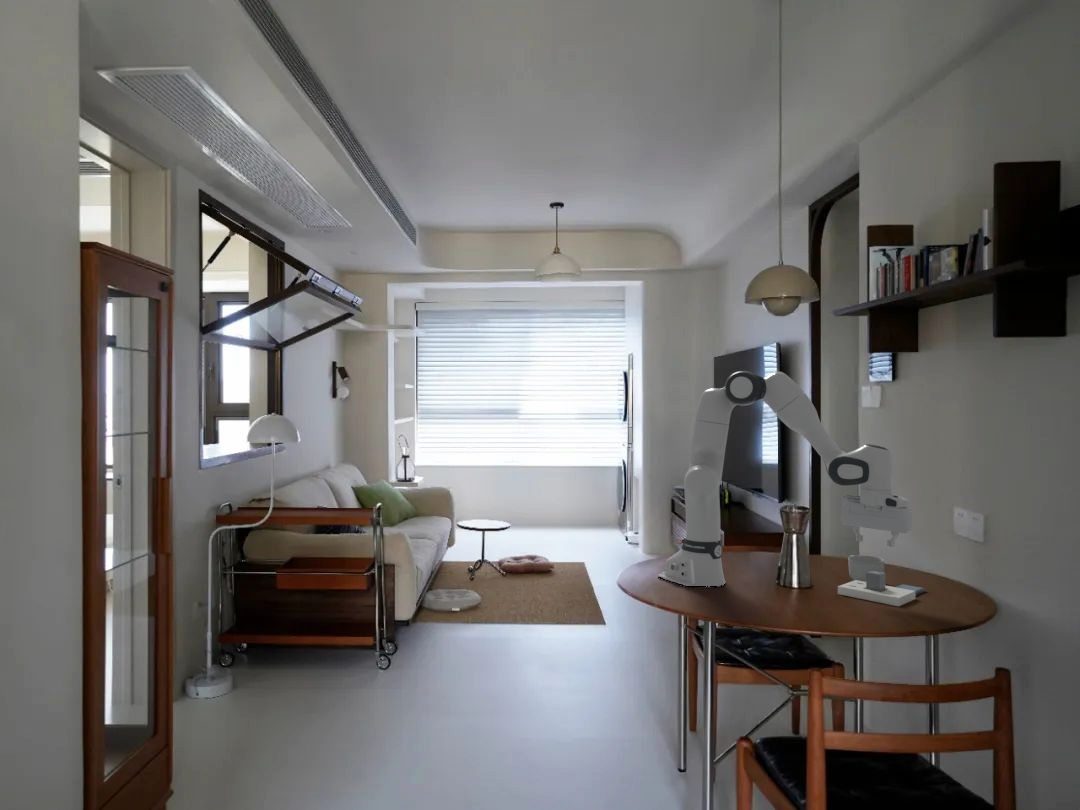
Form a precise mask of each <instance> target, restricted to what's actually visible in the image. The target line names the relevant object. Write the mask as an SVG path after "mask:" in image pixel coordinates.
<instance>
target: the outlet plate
mask: <svg viewBox="0 0 1080 810" xmlns="http://www.w3.org/2000/svg"><path fill="white" fill-rule="evenodd" d="M885 588H886V590H885V591H883V592H879V591H874V590H869V589H866V582H864V581H858V580H851V581H848V582H847V583H843V584H841V585H837V595H840V596H846V597H851V598H856V599H861V600H865V601H870V602H875V603H881V604H885V605H890V606H895V607H900V606H903V605H905V604H907V603H909V602H912V601H914V600H916V596H915V591H913V590H907V589H902V588H896V586H890V585H886V584H885Z"/></svg>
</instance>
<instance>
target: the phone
mask: <svg viewBox="0 0 1080 810" xmlns="http://www.w3.org/2000/svg"><path fill="white" fill-rule="evenodd" d="M895 587H896V588H902V589H907V590H913V591H915V597H916V596H918V595H920V594H923V593H925V592H926V588H925V587H921V586H916V585H909V584H904V583H903V584H902V583H901V584H899V585H896V586H895Z"/></svg>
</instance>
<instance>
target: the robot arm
mask: <svg viewBox="0 0 1080 810" xmlns="http://www.w3.org/2000/svg"><path fill="white" fill-rule="evenodd" d="M757 401H761V402H764V403H765V404H766V405H767V406H768V407H769V408H770V409H771V410H772V411H773V413H774V414H775V416H776V417H777V418H778V419H779V420H780V421H781V422H782V423H783V424H784V425H785V426H786V427H787V428H789V429H790V430H791V431H793V432H795V433H797V434H798V435H800V436H802V437H803V438H804V439H806V441H807V442H808V444H810V445H811V447H813V449H814V450H815V451H816V452H817V454H818V455H819V456H820V458H821V459H822V461H823V463H824V466H825V470H826V473H827V475H828V476H829V478H830V480H831V481H832V482H833V483H835V484H836V485H837V486H841V487H849V486H850V487H851V486H854V485H855V486H857V485H859V495H851V494H850V495H845V496H844V497H843V498H842V499H841V506H842V507H841V513H840V522H841V524H842V525H843V526H851V529H852V531H853V534H854V536H855V541H856V542H863V541H864V539H863V538H864V535H861V533H860V531H859V530H860V529H861V528H864V529H870V530H871V529H872V530H878V531H885V532H886V531H887V532H890V535H891V536H892V537H891V538H890V539H887V540H886V545H887V547H895V545H896V544H895V543H896V540H897V539H898V537H899V536H900V534H908V533H911V531H912V530H913V519H912V518H913V517H912V516H913V515H912V512H911V510H910V508H908V507H909V505H910V501H909V499H908V498H906V497H903V496H901V495H898V494H896V493H894V492H893V486H892V483H891V481H892V477H893V459H892V454H891V452H890V450H889V449H887V447H884V446H881V445H875V444H870V443H868V444H867V443H866V444H865V443H864V444H862V446H861V447H858V448H855V449H854V450H852V451H849V452H848V451H845V450H844V449H842V448H841V447H840V446H839V445H838V444H837V443H836V442H835V440H834V439H833V438H832V437H831V436H830V435H829V433H828V432H827V431H826V430H825V428H824V426H823V425H822V423H821V420H820V417H819V415H818V411H817V409H816V407H815V406H814V404H813V401H812V400H811V399H810V398H809V396H808V394H807V393H805V391H804V390H803V388H801V387H800V386H799V385H798V384H797V382H795V381H794V380H793V379H792V378H791V377H789V375H787V374H786V373H784V372H783V371H774V372H771V373H770V374H768V375H766V376H765V377H764V376H759V375H758V374H755V373H753V372H750V371H747V370H738V371H735V372H733V373H732V374H730V375H729V376H728V377H727V378H726V381H725V383H724V386H723V387H722V388H716V387H713V388H712V387H710V388H708V389H705V390H704V391H703V392H702V394H701V396H700V398H699V401H698V404H697V408H696V412H695V417H694V424H693V430H692V436H691V437H692V438H691V441H690V442H691V445H690V454H689V455H690V456H689V463H688V464H689V465H688V470H687V472H686V473H685V475H684V478H683V486H684V487H683V490H684V506H685V507H684V508H685V538H683V539H680V540H678V541H679V543H678V544H679V545H681V548H680V549H679V550H678V551H676V552H675V553H674V554H673V555H671V556H670V557H668V558H667V559H666V562H665V567H664V571H662V572H660V573H658V574H657V577H658V576H660V577H663V578H666V579H669V580H671V581H674V582H677V583H679V584H683V585H686V586H706V587H705V588H711V587H710V586H717V587H721V585H722V586H724V584H725V583H727V582H726V580H725V575H724V571H723V564H722V553H723V552H722V551H723V545H722V544H723V542H722V541H723V540H722V539H721V506H720V505H721V502H720V499H721V498H720V486H721V484H722V480H723V479H722V477H723V471H724V470H723V469H724V463H725V455H726V446H727V441H728V434H729V428H730V426H729V425H730V419H731V414H732V411H733V409H734V408H735V407H739V406H741V407H743V406H750V405H752V404H754V403H756V402H757ZM725 585H726V584H725ZM707 586H708V587H707Z"/></svg>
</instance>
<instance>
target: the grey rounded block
mask: <svg viewBox="0 0 1080 810" xmlns="http://www.w3.org/2000/svg"><path fill="white" fill-rule="evenodd" d="M847 560H848V562H847V563H848V572H849V573H848V574H849V577H850V578H851V579H852V581H854V580H858V581H864V582H866V572H869V571H877V572H883V573H885V559H884V558H882V557H880V556H873V555H867V554H866V555H861V554H860V555H854V554H851V555H849V556H848V558H847Z"/></svg>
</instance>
